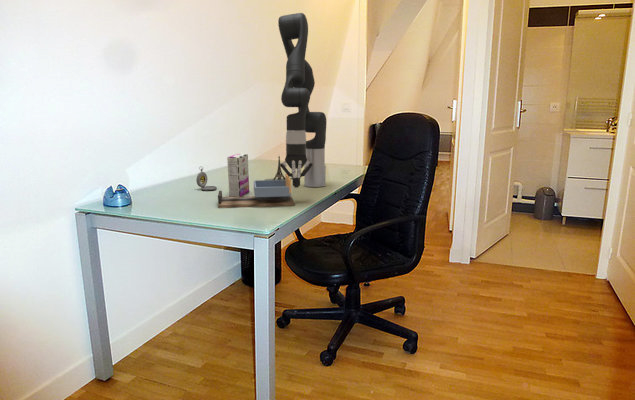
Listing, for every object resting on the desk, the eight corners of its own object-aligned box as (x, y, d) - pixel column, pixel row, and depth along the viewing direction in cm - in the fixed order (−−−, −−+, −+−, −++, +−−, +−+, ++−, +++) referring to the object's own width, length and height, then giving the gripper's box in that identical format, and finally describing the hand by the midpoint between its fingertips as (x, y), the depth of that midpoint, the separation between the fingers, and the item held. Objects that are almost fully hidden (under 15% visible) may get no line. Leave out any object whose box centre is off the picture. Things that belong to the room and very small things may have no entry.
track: (290, 197, 182) (290, 187, 181) (294, 205, 168) (294, 194, 168) (219, 199, 177) (219, 189, 177) (218, 207, 164) (217, 197, 163)
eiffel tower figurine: (293, 179, 227) (293, 152, 224) (296, 182, 217) (296, 154, 215) (263, 180, 224) (262, 153, 221) (265, 183, 214) (264, 155, 212)
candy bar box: (238, 191, 193) (237, 153, 190) (249, 192, 192) (248, 153, 189) (228, 197, 182) (226, 156, 179) (240, 197, 182) (238, 157, 178)
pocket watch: (216, 191, 194) (215, 168, 192) (196, 191, 193) (195, 168, 191) (217, 187, 202) (216, 165, 200) (198, 187, 201) (196, 165, 199)
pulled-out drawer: (287, 194, 182) (286, 173, 180) (291, 202, 167) (290, 180, 166) (254, 195, 180) (253, 174, 178) (255, 203, 165) (254, 181, 163)
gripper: (311, 141, 175) (311, 185, 179) (277, 141, 173) (278, 186, 177) (314, 142, 168) (314, 188, 172) (279, 143, 166) (280, 189, 169)
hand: (296, 187), depth 174 cm, fingers closed
